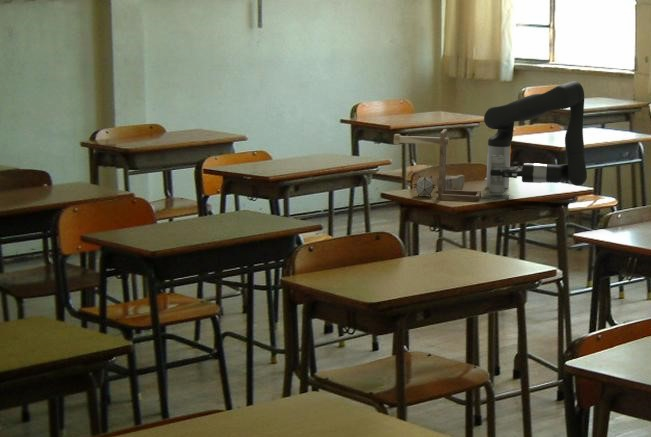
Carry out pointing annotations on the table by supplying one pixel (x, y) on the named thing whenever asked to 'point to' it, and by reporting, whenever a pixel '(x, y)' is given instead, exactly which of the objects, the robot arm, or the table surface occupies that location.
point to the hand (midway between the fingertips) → (491, 171)
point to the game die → (424, 186)
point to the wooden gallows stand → (442, 193)
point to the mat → (496, 196)
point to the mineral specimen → (453, 182)
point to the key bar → (418, 140)
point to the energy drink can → (497, 181)
